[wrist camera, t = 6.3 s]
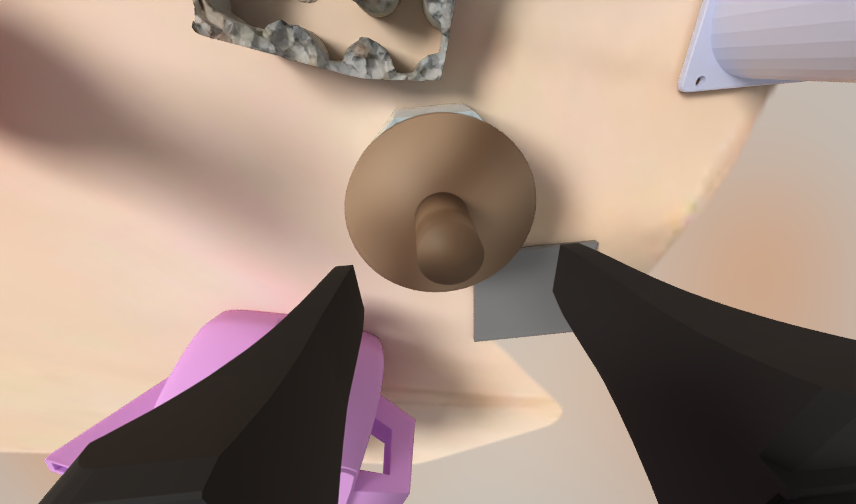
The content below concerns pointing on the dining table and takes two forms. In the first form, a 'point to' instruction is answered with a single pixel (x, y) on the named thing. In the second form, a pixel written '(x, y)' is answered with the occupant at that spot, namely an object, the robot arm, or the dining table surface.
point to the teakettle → (366, 414)
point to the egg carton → (309, 49)
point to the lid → (440, 202)
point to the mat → (521, 297)
